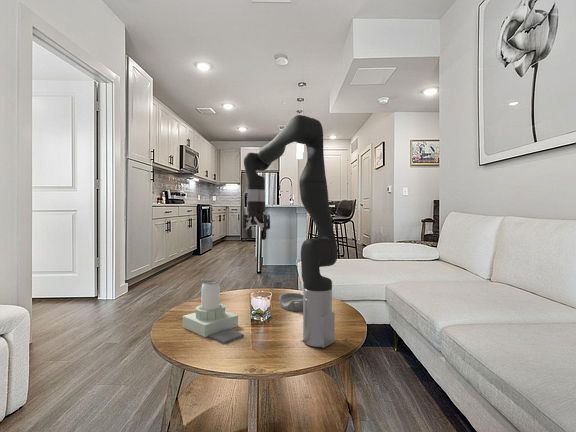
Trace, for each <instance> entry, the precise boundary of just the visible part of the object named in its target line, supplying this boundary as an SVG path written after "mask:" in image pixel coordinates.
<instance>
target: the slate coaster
mask: <svg viewBox="0 0 576 432" xmlns="http://www.w3.org/2000/svg"><path fill="white" fill-rule="evenodd" d="M244 336H245V335H244V333H242V332H239V331H238V330H237V331H236V330H234V329H233V328H231V329H229V328H228V329H225V330H222V331H219V332H216V333H213V334H210V335H209V336H208V338H210V339H212V340H215V341H217V342H218V343H221V344H222V345H223V344H224V345H225V344H227V343H231V342H233V341H236V340H239V339H241V338H243V337H244Z"/></svg>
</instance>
